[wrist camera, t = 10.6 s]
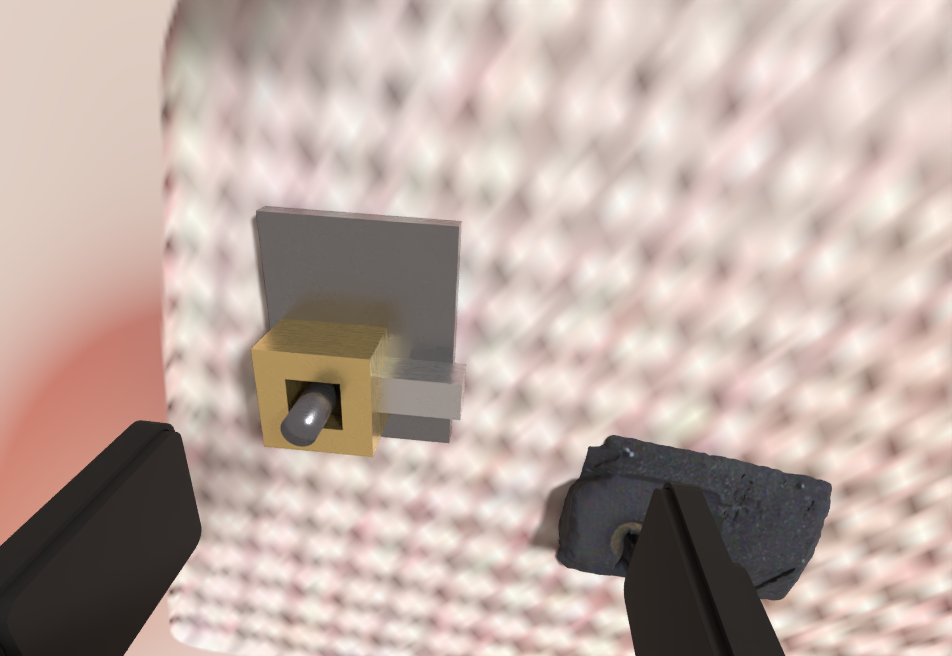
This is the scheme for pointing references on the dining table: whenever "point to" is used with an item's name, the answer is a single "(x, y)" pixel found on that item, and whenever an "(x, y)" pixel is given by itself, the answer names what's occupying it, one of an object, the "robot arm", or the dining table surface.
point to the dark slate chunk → (728, 497)
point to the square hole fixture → (360, 325)
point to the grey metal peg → (310, 413)
